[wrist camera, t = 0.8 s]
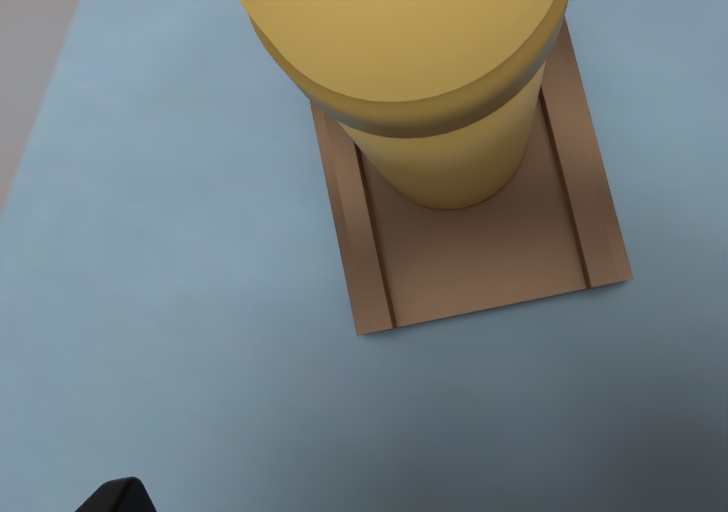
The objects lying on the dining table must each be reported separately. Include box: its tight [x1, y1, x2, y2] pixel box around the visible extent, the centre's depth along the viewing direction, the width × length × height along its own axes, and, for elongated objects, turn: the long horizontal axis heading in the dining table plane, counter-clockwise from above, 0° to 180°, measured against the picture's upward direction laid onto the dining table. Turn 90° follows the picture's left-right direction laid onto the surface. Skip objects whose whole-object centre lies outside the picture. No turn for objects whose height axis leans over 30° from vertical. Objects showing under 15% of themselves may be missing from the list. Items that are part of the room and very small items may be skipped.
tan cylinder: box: [240, 0, 568, 210], centre depth 15 cm, size 6×6×12 cm
